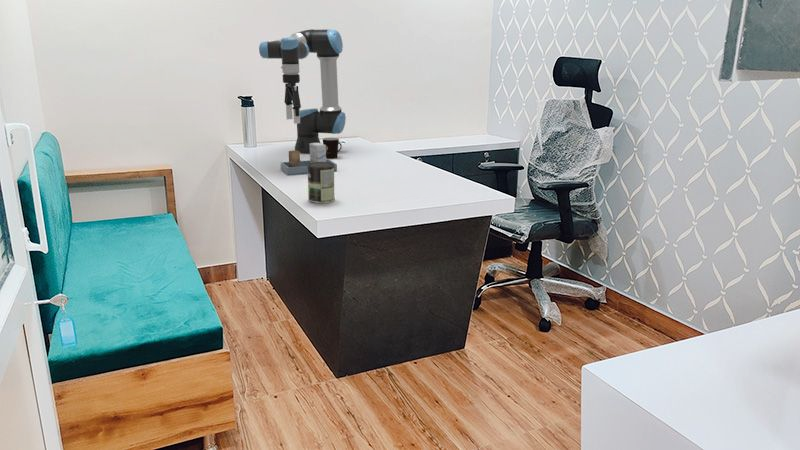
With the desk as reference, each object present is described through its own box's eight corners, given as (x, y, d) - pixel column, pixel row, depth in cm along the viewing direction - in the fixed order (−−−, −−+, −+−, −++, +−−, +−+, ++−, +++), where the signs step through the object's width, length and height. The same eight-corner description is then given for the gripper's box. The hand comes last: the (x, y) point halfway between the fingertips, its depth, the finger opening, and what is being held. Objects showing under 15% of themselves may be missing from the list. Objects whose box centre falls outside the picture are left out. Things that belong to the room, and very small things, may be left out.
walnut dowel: (288, 169, 281) (287, 150, 279) (298, 168, 283) (298, 150, 281) (290, 171, 277) (290, 152, 274) (301, 171, 279) (300, 152, 276)
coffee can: (307, 203, 226) (306, 167, 222) (309, 196, 236) (308, 161, 231) (334, 203, 227) (334, 167, 222) (335, 196, 236) (334, 161, 232)
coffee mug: (320, 156, 317) (320, 138, 314) (336, 155, 320) (336, 137, 317) (327, 160, 307) (326, 141, 304) (343, 159, 310) (342, 140, 307)
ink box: (327, 169, 283) (326, 144, 279) (317, 170, 280) (316, 145, 276) (319, 166, 290) (318, 142, 286) (309, 167, 287) (308, 143, 283)
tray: (280, 169, 284) (280, 162, 283) (328, 166, 294) (328, 159, 292) (287, 175, 272) (287, 167, 271) (336, 171, 282) (336, 164, 281)
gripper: (276, 72, 277) (279, 118, 283) (289, 76, 255) (292, 125, 262) (292, 71, 279) (294, 117, 286) (306, 75, 258) (308, 124, 265)
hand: (293, 121), depth 274 cm, fingers open, 13 cm apart
